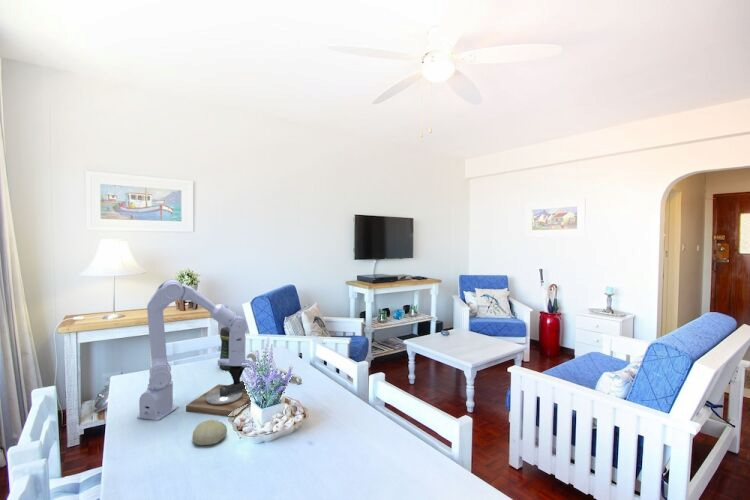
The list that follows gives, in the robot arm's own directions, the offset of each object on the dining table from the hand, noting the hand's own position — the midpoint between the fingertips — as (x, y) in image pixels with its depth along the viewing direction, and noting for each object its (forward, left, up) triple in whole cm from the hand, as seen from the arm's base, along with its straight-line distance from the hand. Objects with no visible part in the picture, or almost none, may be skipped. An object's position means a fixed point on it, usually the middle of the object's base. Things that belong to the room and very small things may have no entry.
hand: (236, 385), depth 134 cm
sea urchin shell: (-27, -8, -4) cm, 29 cm away
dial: (-5, +1, -2) cm, 6 cm away
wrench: (+20, -4, -4) cm, 21 cm away
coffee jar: (+27, +19, -4) cm, 33 cm away
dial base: (-6, +1, -4) cm, 7 cm away
